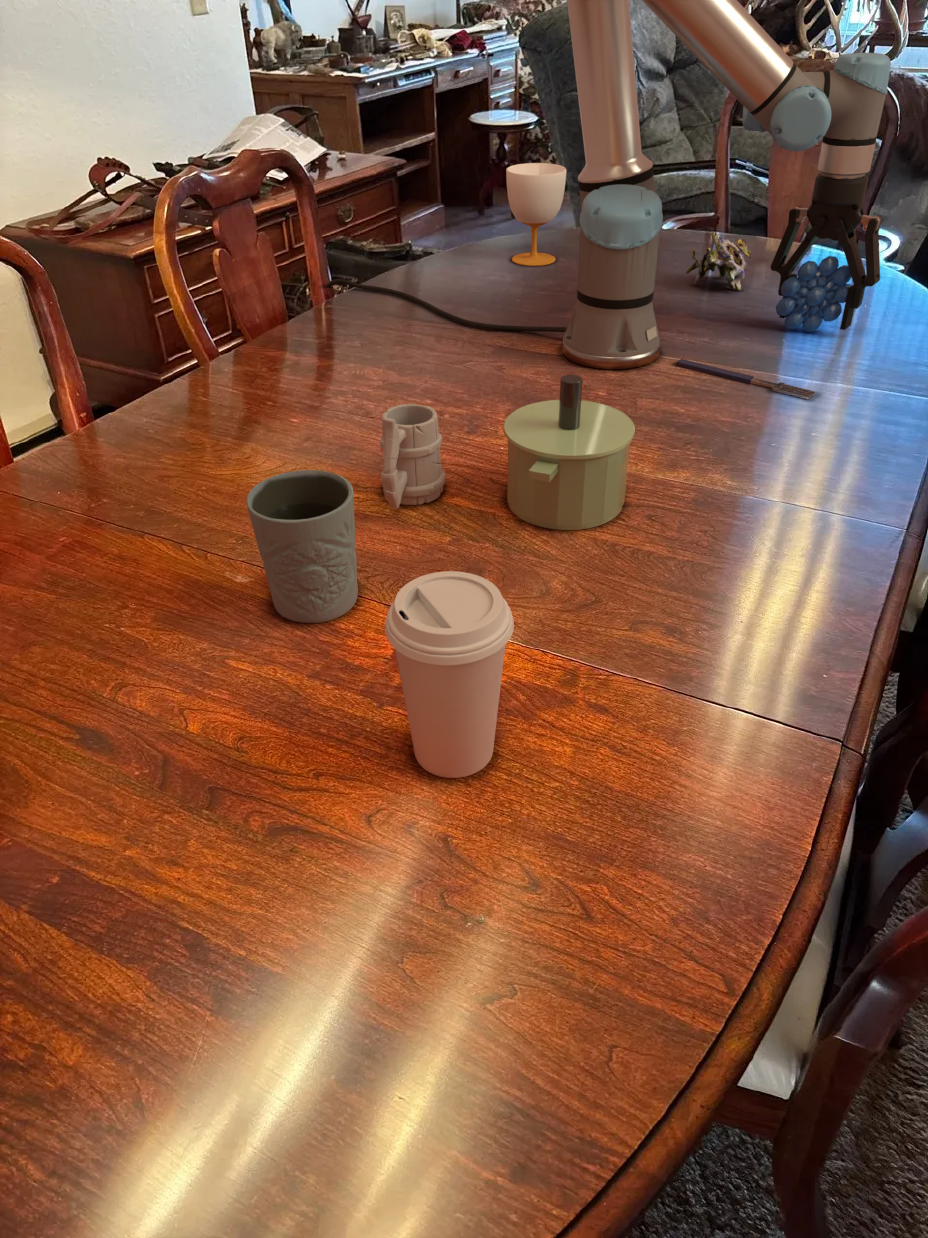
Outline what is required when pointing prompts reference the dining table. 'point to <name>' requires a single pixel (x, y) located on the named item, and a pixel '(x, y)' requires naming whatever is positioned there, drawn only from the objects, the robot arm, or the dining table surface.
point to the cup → (535, 202)
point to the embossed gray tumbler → (307, 543)
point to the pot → (566, 488)
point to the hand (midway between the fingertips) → (814, 321)
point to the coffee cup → (450, 667)
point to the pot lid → (569, 426)
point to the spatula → (747, 379)
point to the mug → (411, 455)
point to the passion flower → (724, 261)
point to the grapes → (814, 294)
